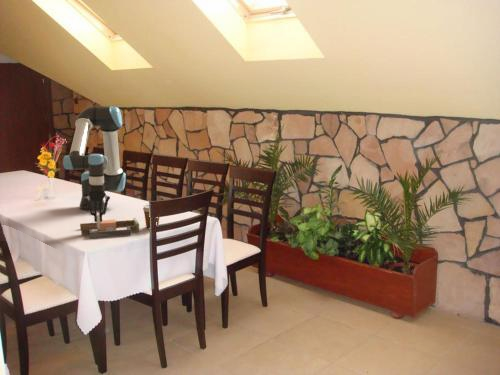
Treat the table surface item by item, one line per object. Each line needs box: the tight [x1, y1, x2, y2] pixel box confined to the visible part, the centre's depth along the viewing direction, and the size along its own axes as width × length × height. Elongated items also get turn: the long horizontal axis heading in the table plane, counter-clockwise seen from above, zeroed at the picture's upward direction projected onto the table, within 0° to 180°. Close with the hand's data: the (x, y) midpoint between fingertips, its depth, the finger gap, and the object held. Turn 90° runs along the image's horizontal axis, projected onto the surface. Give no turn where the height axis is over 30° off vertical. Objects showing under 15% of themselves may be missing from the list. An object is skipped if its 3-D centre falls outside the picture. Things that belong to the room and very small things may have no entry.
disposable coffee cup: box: [142, 204, 160, 230], centre depth 282 cm, size 10×10×12 cm
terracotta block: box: [99, 218, 117, 231], centre depth 277 cm, size 6×8×5 cm
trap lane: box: [79, 217, 140, 239], centre depth 274 cm, size 19×29×4 cm, turn 110°
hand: (98, 227), depth 275 cm, fingers closed
